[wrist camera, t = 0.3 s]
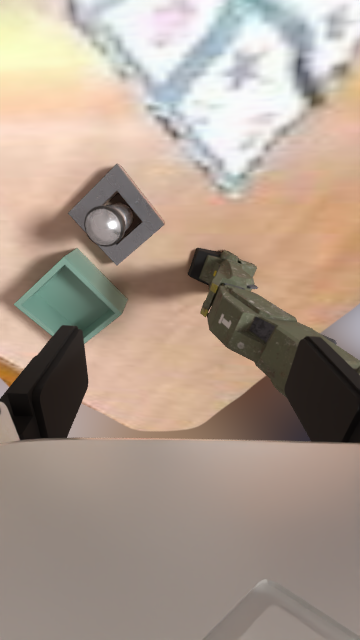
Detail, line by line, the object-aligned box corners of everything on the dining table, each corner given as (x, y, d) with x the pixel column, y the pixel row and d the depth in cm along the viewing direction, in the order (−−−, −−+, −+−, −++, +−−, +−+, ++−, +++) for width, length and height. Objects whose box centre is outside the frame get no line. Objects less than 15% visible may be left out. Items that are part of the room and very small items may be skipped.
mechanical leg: (166, 276, 45) (249, 419, 20) (178, 235, 42) (295, 344, 17) (232, 290, 50) (363, 417, 25) (248, 254, 47) (415, 360, 22)
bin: (31, 290, 46) (13, 304, 41) (77, 248, 43) (63, 256, 37) (83, 335, 51) (72, 352, 45) (127, 299, 47) (122, 313, 42)
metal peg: (99, 214, 40) (74, 224, 30) (120, 194, 39) (102, 197, 29) (120, 237, 42) (103, 255, 32) (140, 219, 41) (130, 230, 30)
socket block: (74, 211, 40) (67, 213, 38) (120, 165, 38) (116, 163, 35) (120, 260, 44) (116, 265, 41) (164, 221, 41) (164, 224, 39)
